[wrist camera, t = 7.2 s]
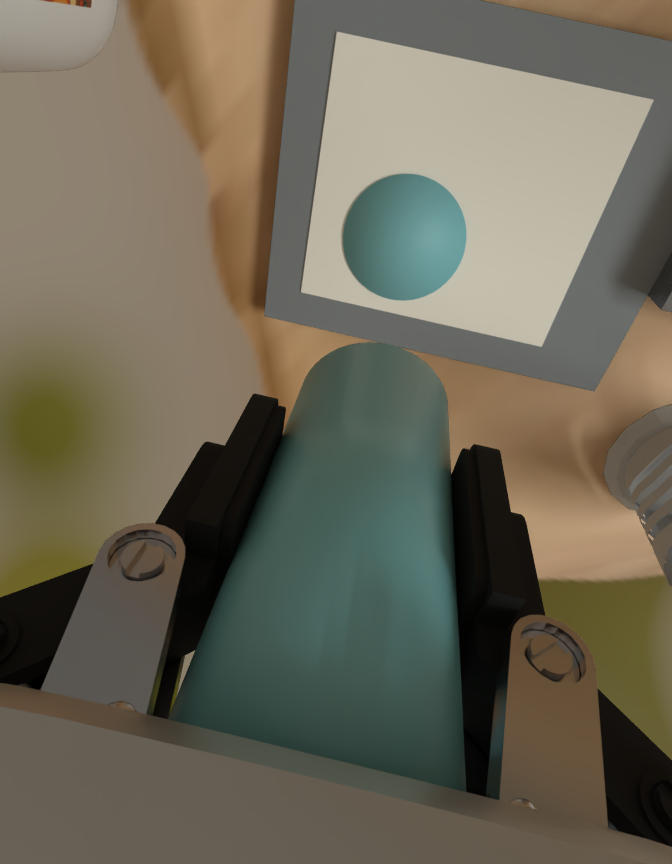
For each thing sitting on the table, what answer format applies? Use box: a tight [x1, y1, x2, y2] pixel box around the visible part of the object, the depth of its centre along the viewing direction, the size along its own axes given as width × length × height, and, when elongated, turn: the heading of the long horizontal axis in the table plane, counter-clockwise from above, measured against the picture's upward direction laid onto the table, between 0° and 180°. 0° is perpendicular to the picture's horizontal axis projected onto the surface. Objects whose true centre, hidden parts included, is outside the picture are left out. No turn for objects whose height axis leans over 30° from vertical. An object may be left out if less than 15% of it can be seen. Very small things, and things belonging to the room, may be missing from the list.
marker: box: [168, 342, 466, 792], centre depth 9 cm, size 4×4×12 cm
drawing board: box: [264, 0, 672, 391], centre depth 27 cm, size 20×16×1 cm
